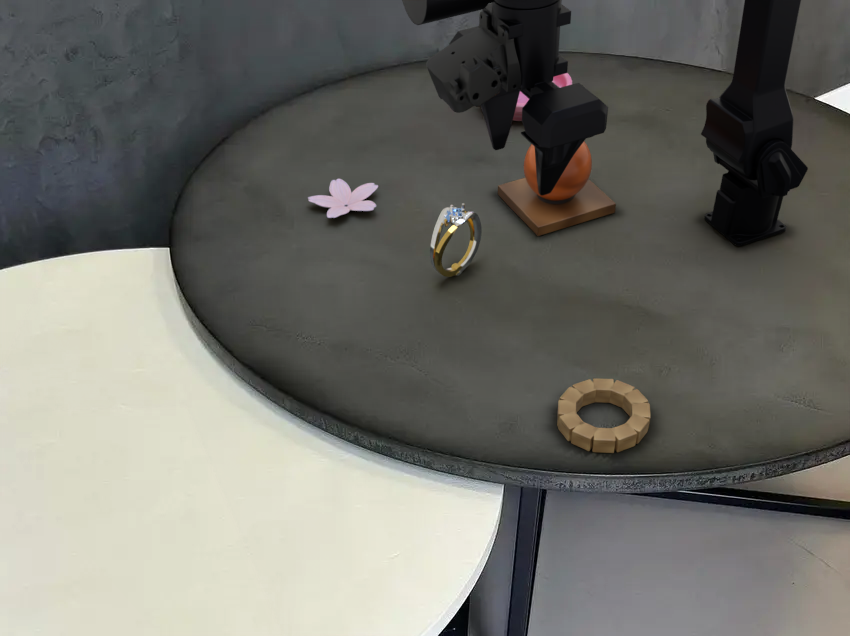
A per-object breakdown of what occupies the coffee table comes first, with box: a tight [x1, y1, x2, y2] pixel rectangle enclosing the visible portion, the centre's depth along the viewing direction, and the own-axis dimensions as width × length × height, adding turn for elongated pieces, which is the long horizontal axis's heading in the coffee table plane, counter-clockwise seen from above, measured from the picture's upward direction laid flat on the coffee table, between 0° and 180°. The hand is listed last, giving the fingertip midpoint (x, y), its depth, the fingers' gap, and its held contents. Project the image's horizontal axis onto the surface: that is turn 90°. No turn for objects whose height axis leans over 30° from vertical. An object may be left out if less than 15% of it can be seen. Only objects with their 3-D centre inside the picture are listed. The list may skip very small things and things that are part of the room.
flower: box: [307, 177, 379, 219], centre depth 116 cm, size 10×10×2 cm
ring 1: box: [429, 202, 483, 278], centre depth 104 cm, size 7×3×8 cm, turn 132°
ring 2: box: [556, 377, 652, 454], centre depth 90 cm, size 8×8×2 cm
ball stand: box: [497, 141, 617, 237], centre depth 112 cm, size 10×10×9 cm
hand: (521, 170), depth 92 cm, fingers open, 9 cm apart
